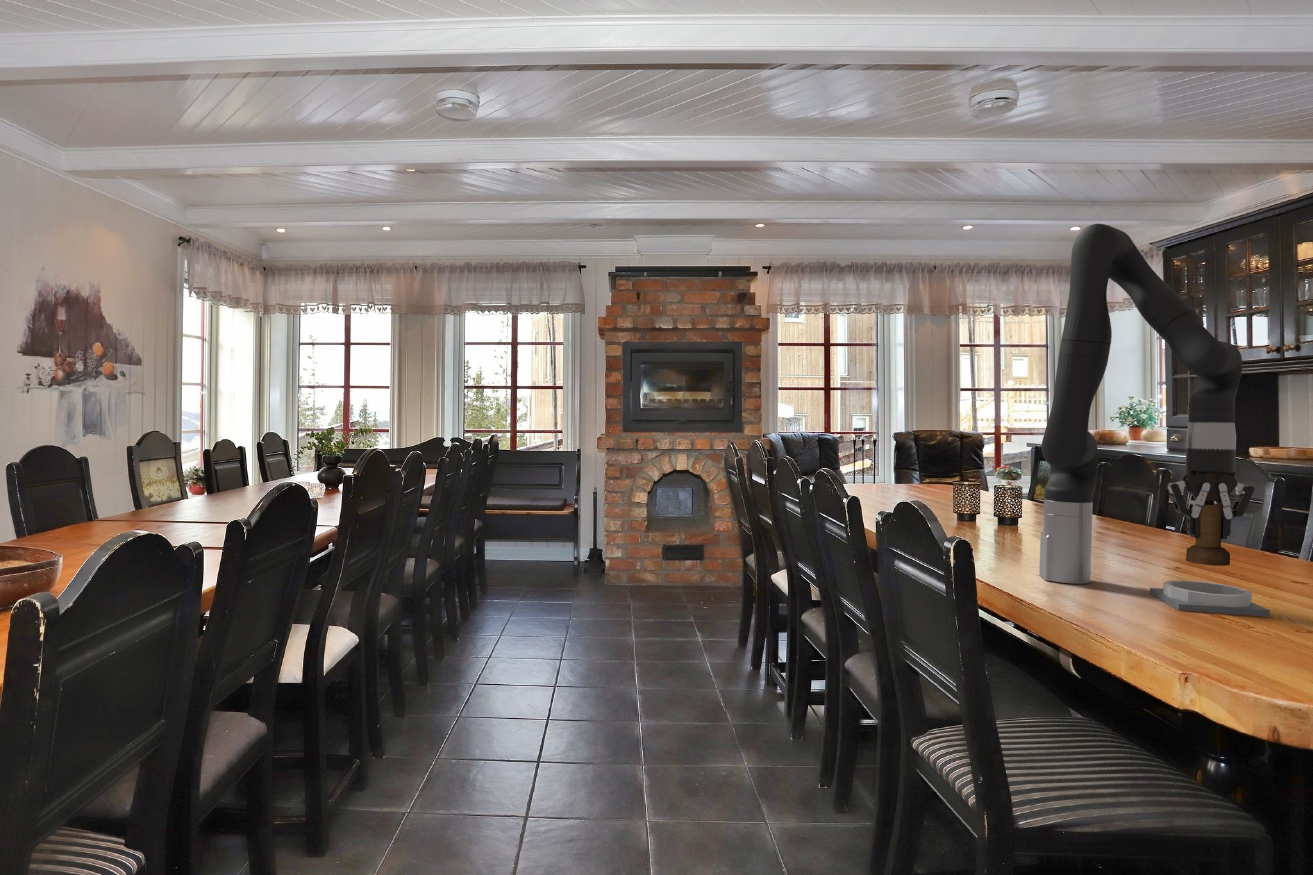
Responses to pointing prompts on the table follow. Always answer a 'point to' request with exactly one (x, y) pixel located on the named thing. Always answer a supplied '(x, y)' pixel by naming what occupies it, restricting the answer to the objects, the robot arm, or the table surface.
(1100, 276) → the robot arm
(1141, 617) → the table surface
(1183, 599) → the ring board
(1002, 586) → the table surface
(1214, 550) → the brown tall stepped piece
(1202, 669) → the table surface
